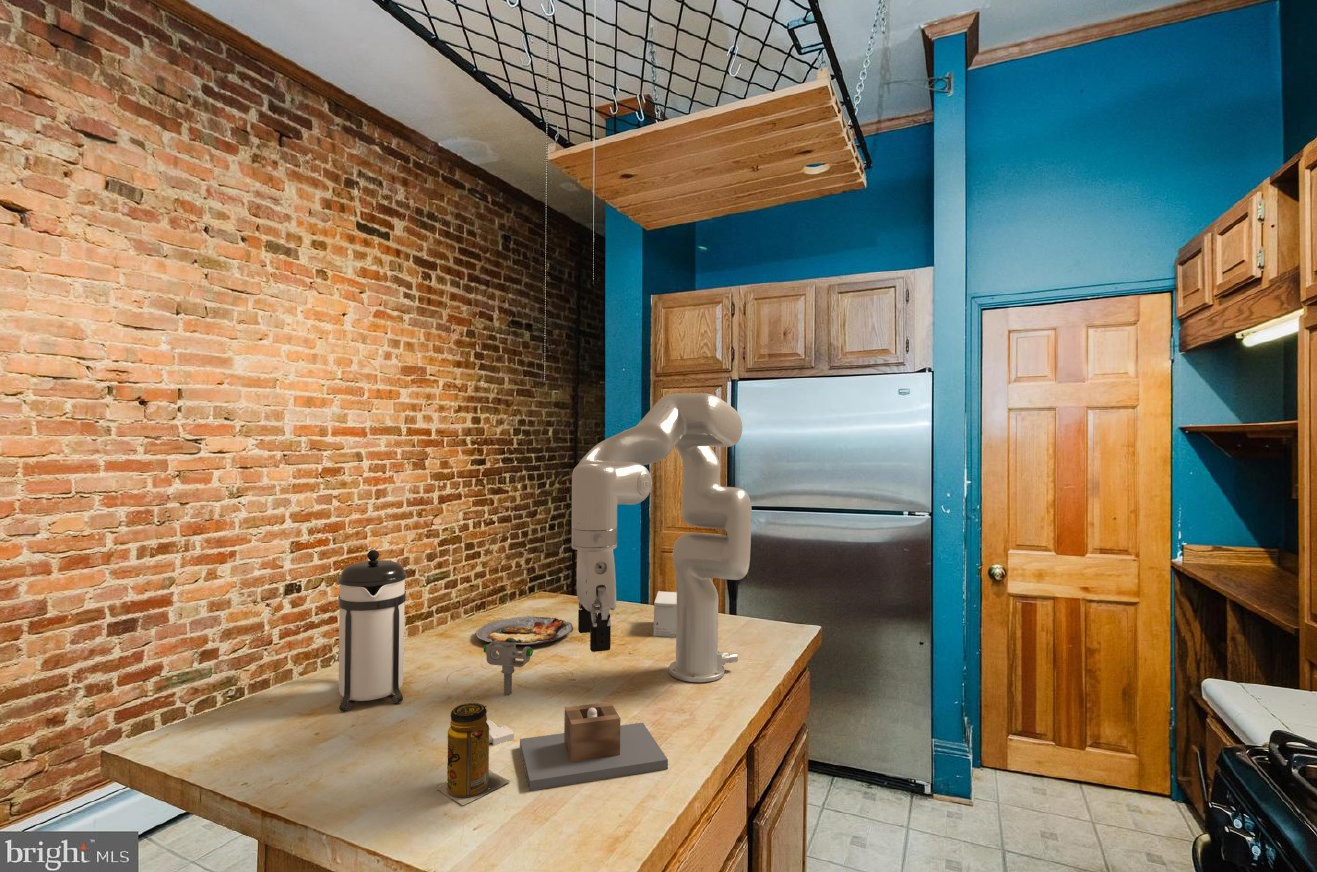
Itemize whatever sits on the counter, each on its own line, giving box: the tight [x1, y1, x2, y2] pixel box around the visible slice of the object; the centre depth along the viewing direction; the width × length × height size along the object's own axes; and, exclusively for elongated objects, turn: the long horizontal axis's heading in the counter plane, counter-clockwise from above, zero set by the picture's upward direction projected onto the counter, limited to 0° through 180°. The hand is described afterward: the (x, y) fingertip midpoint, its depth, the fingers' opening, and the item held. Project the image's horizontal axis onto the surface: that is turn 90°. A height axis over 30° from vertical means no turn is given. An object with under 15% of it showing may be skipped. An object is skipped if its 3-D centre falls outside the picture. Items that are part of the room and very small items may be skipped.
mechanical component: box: [483, 642, 534, 696], centre depth 133 cm, size 3×10×10 cm, turn 78°
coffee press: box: [337, 549, 408, 713], centre depth 131 cm, size 17×16×30 cm
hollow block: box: [563, 701, 621, 762], centre depth 107 cm, size 8×7×6 cm
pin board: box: [519, 708, 669, 792], centre depth 107 cm, size 22×14×8 cm, turn 108°
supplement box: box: [653, 590, 677, 638], centre depth 178 cm, size 17×13×9 cm
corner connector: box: [486, 719, 515, 746], centre depth 114 cm, size 8×8×2 cm
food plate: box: [475, 615, 574, 646], centre depth 171 cm, size 25×23×4 cm
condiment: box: [435, 702, 511, 806], centre depth 98 cm, size 7×8×12 cm
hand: (593, 640), depth 107 cm, fingers open, 9 cm apart
